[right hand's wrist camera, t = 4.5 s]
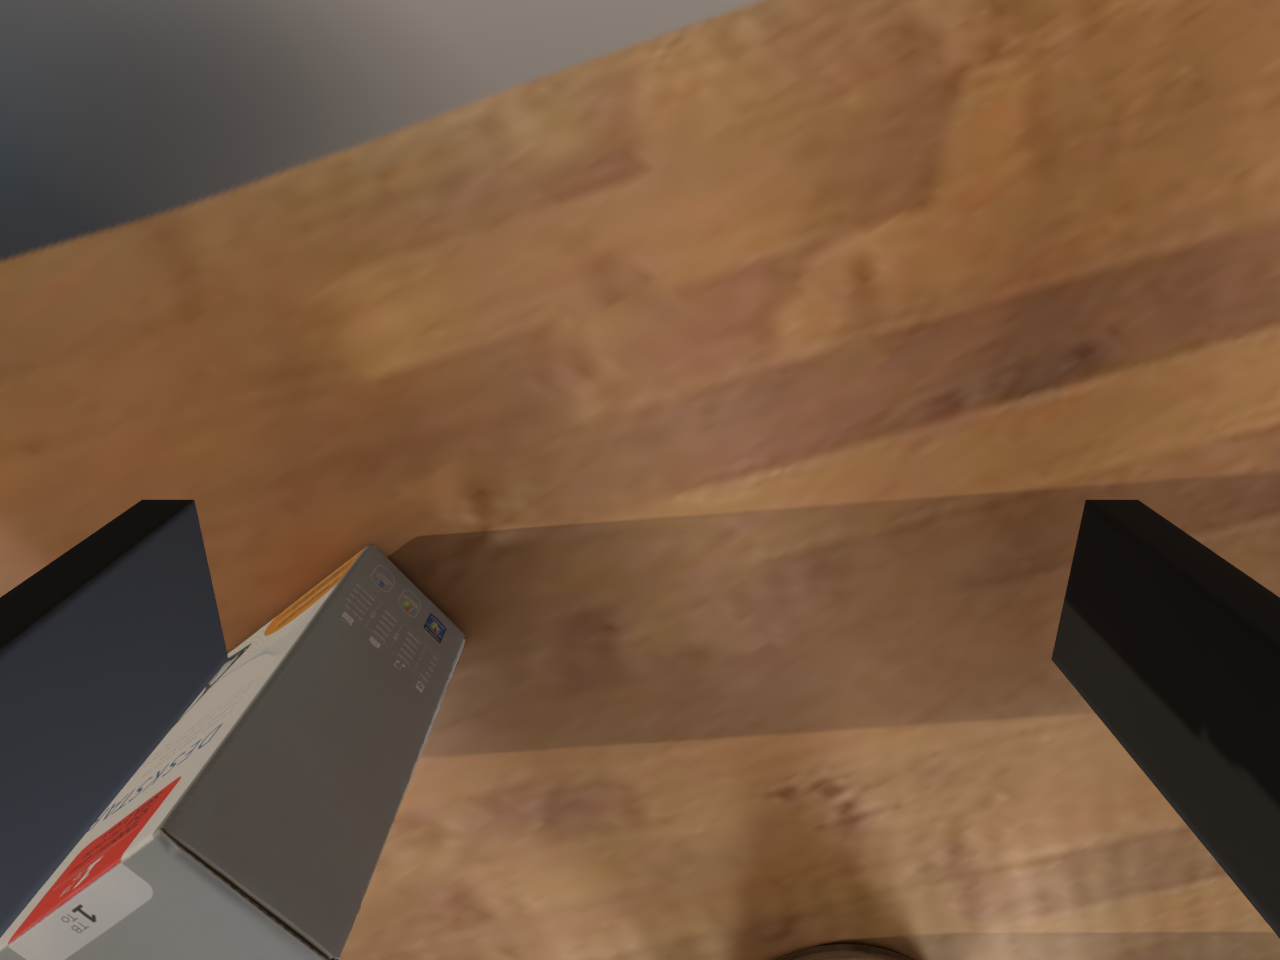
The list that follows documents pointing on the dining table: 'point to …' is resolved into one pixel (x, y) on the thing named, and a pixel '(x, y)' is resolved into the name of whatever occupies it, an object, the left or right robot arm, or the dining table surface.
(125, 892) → the hard drive box
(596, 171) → the dining table surface
